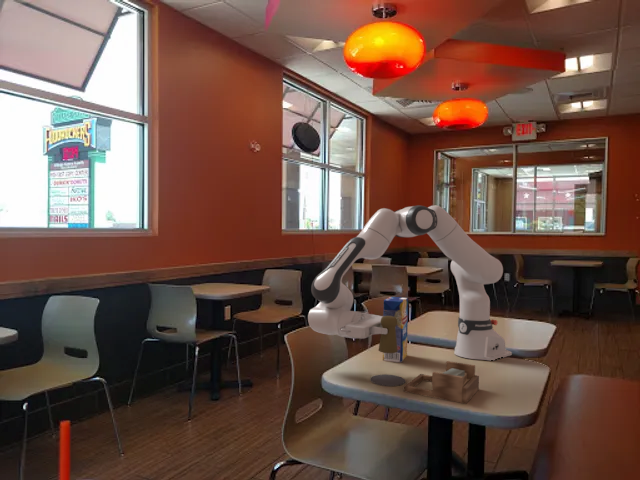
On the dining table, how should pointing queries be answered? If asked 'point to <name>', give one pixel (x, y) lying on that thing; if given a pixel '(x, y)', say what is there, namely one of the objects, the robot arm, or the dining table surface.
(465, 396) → the rack
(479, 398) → the dining table surface
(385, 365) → the dining table surface
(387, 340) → the cork
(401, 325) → the beverage box
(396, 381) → the coaster
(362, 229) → the robot arm
